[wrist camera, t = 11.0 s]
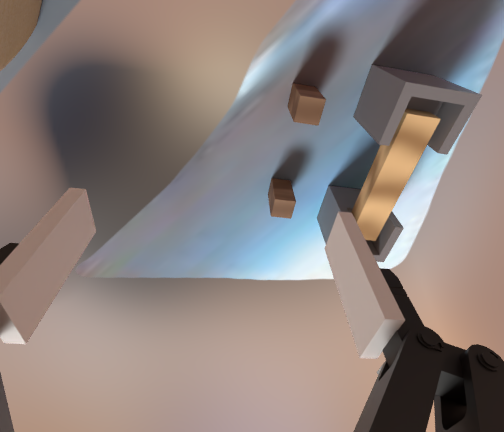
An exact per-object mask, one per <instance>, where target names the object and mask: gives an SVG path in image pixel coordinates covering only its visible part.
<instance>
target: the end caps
mask: <svg viewBox="0 0 504 432" xmlns="http://www.w3.org/2000/svg"><path fill="white" fill-rule="evenodd" d="M481 96H482V95H481V94H478V93H476V92H473V91H471V90H468V89H466V88H463V87H461V86H458V85H456V84H453V83H451V82H448V81H446V80H444V79H441V78H439V77H436V76H434V75H428V74H423V73H417V72H411V71H406V70H400V69H395V68H389V67H383V66H378V65H372V66H371V69H370V72H369V74H368V77H367V80H366V83H365V85H364V88H363V91H362V94H361V97H360V99H359V102H358V105H357V108H356V111H355V113H354V116H353V117H354V118H355V119H356V120H357V122H358V123H359V124H360V125H361V126H362V127H363V128H364V129H365V130H366V131H367V132H368V133H369V134H370V135H371V137H372V138H373V139H374V140H375V141H376V142H377V143H378V144H379V145H386V146H389V145H390V142H391V140H392V138H393V136H394V134H395V132H396V129H397V127H398V125H399V123H400V121H401V118H402V116H403V114H404V112H405V110H406V108H408V109H414V110H421V111H427V112H430V113H432V114H434V115H435V116H437V117H438V118H440V119H441V120H440V122H439V123H438V125H437V127H436V129H435V131H434V133H433V135H432V136H431V138H430V140H429V142H428V144H427V145H428V146H429V147H431V148H432V149H433V150H434V151H436V152H437V153H441V154H448V152H449V151H450V149H451V147H452V145H453V144H454V142H455V140H456V139H457V137H458V135H459V134H460V132H461V130H462V129H463V127H464V125H465V123H466V122H467V120H468V118H469V117H470V115H471V113H472V112H473V110H474V108H475V106H476V105H477V103H478V101H479V100H480V98H481ZM360 191H361V189H354V188H346V187H338V186H330V185H329V186H328V189H327V191H326V194H325V197H324V200H323V202H322V205H321V208H320V211H319V214H318V216H317V220H318V223H319V226H320V229H321V232H322V234H323V237H324V240H325V243H326V244H327V241H328V238H329V235H330V233H331V230H332V227H333V225H334V222H335V219H336V216H337V214H338V212H349V213H351V212H352V209H353V207H354V205H355V203H356V200H357V198H358V196H359V193H360ZM402 230H403V226H402V225H401V224H400V222H399V221H398V219H397V218H396V216H395V215H394V214H393V212H392V211H391V213H390V215H389V217H388V219H387V220H386V222H385V224H384V226H383V228H382V230H381V232H380V233H379V235H378V237H377V239H376V241H372V240H366V242H367V244H368V246H369V248H370V250H371V252H372V254H373V256H374V258H375V260H376V261H378V262H384V261H385V259H386V257H387V256H388V254H389V252H390V250H391V249H392V247H393V245H394V244H395V242H396V240H397V239H398V237H399V235H400V234H401V232H402Z"/></svg>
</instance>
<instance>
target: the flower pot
mask: <svg viewBox="0 0 504 432" xmlns="http://www.w3.org/2000/svg"><path fill="white" fill-rule="evenodd" d="M41 3H42V0H0V71H1V70H2V69H3V68H4V67H5V66H6V65H7V64H8V63H9V62H10V61H11V60H12V59H13V58H14V57H15V56H16V55H17V53H18V52H19V51H20V50H21V48H22V47H23V46H24V45H25V43H26V42H27V40H28V39H29V37H30V36H31V34H32V32H33V31H34V29H35V27H36V25H37V21H38V17H39V12H40V7H41Z"/></svg>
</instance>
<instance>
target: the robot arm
mask: <svg viewBox="0 0 504 432" xmlns="http://www.w3.org/2000/svg"><path fill="white" fill-rule="evenodd" d="M95 232H96V228H95V224H94V221H93V216H92V212H91V208H90V204H89V201H88V196H87V192H86V189H78V188H69V189H68V190H67V192H66V193H65V194H64V195H63V196H62V197H61V198H60V199H59V200H58V201H57V203H56V204H55V205H54V206H53V207H52V208H51V209H50V210H49V211H48V213H47V214H46V215H45V216H44V217H43V218H42V219H41V220H40V221H39V223H38V224H37V225H36V226H35V227H34V228H33V229H32V230H31V232H30V233H29V234H28V235H27V236H26V237H25V238H24V239H23V240H22V241H21V243H20V244H18V243H9V244H8V245H6V246H4V247H3V248H1V249H0V338H1V339H2V340H3V342H4V343H12V344H26V343H27V342H28V340H29V339H30V337H31V335H32V334H33V332H34V330H35V329H36V327H37V326H38V324H39V322H40V321H41V319H42V317H43V316H44V314H45V313H46V311H47V309H48V308H49V306H50V305H51V303H52V301H53V300H54V298H55V297H56V295H57V294H58V292H59V290H60V289H61V287H62V286H63V284H64V282H65V281H66V279H67V277H68V276H69V274H70V273H71V271H72V269H73V268H74V266H75V265H76V263H77V261H78V260H79V258H80V257H81V255H82V253H83V252H84V250H85V249H86V247H87V245H88V244H89V242H90V241H91V239H92V237H93V236H94V234H95ZM325 251H326V254H327V258H328V261H329V264H330V267H331V270H332V273H333V276H334V279H335V282H336V286H337V289H338V291H339V295H340V298H341V301H342V304H343V307H344V311H345V313H346V317H347V320H348V323H349V326H350V329H351V333H352V336H353V339H354V342H355V345H356V348H357V351H358V354H359V358H374V359H377V358H378V357H379V355H380V354H381V353H382V351H383V353H384V355H385V358H386V361H385V363H384V364H383V365H382V366H381V368H380V369H379V370H378V371H377V373H378V374H379V375H378V377H377V380H376V382H375V384H374V387H373V389H372V391H371V393H370V396H369V398H368V400H367V402H366V405H365V407H364V409H363V411H362V414H361V416H360V418H359V421H358V423H357V425H356V427H355V430H354V432H426V428H427V424H428V420H429V417H430V413H431V409H432V405H433V400H434V406H435V407H434V408H435V430H436V432H504V361H503V360H502V359H501V357H500V356H499V355H497V354H496V353H495V352H494V351H492V350H490V349H489V348H487V347H485V346H481V345H478V344H477V345H472V346H470V347H469V348H468V349H467V350H464V349H461V348H458V347H455V346H452V345H449V344H447V343H444V342H443V340H442V339H441V338H440V336H439V335H438V334H436V333H435V332H434V331H433V330H431V329H429V328H427V327H425V326H424V325H423V323H422V321H421V319H420V318H419V316H418V314H417V312H416V310H415V308H414V307H413V305H412V303H411V301H410V299H409V297H407V294H406V292H405V290H404V289H403V286H402V284H401V283H400V281H399V279H398V277H397V276H395V274H394V273H393V272H391V270H390V269H381V268H379V266H378V264H377V262H376V260H375V258H374V256H373V254H372V252H371V250H370V248H369V246H368V244H367V242H366V240H365V238H364V236H363V234H362V232H361V230H360V228H359V226H358V224H357V222H356V220H355V218H354V216H353V214H352V213H349V212H338V214H337V216H336V219H335V222H334V225H333V227H332V230H331V233H330V235H329V238H328V241H327V244H326V246H325ZM0 432H14V429H13V425H12V421H11V416H10V412H9V408H8V403H7V399H6V395H5V391H4V386H3V382H2V379H1V373H0Z"/></svg>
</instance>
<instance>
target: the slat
mask: <svg viewBox="0 0 504 432" xmlns="http://www.w3.org/2000/svg"><path fill="white" fill-rule="evenodd" d="M440 120H441V119H440V118H438V117H437V116H435V115H434V114H432V113H430V112H427V111H421V110H414V109H408V108H406V110H405V112H404V114H403V116H402V118H401V121H400V123H399V125H398V127H397V129H396V132H395V134H394V136H393V138H392V140H391V142H390V145H389V146H386V145H381V146H380V148H379V150H378V152H377V155H376V157H375V159H374V162H373V164H372V166H371V168H370V171H369V173H368V175H367V178H366V180H365V182H364V184H363V187H362V189H361V191H360V193H359V196H358V198H357V200H356V203H355V205H354V207H353V209H352V212H351V213H352V214H353V216H354V218H355V220H356V222H357V224H358V226H359V228H360V230H361V232H362V234H363V236H364V238H365V240H372V241H376V239H377V237H378V235H379V233H380V232H381V230H382V228H383V226H384V224H385V222H386V220H387V219H388V217H389V215H390V213H391V211H392V209H393V207H394V206H395V204H396V202H397V200H398V198H399V196H400V194H401V192H402V191H403V189H404V187H405V185H406V183H407V181H408V179H409V178H410V176H411V174H412V172H413V170H414V168H415V166H416V164H417V163H418V161H419V159H420V157H421V155H422V153H423V151H424V150H425V148H426V146H427V144H428V142H429V140H430V138H431V136H432V135H433V133H434V131H435V129H436V127H437V125H438V123H439V122H440Z"/></svg>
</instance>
